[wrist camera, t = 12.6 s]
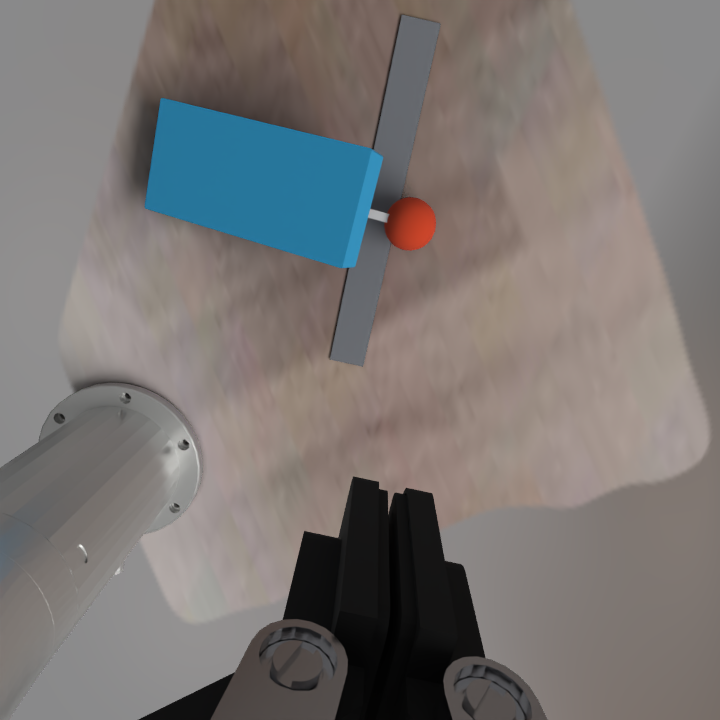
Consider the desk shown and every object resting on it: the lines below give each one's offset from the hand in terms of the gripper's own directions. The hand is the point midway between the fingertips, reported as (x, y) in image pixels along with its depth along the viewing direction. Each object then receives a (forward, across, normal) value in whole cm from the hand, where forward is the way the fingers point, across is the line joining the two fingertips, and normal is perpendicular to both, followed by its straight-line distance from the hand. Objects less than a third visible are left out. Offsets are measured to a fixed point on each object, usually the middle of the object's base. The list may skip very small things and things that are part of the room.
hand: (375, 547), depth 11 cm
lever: (+29, +7, -6) cm, 31 cm away
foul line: (+29, +2, -7) cm, 30 cm away
